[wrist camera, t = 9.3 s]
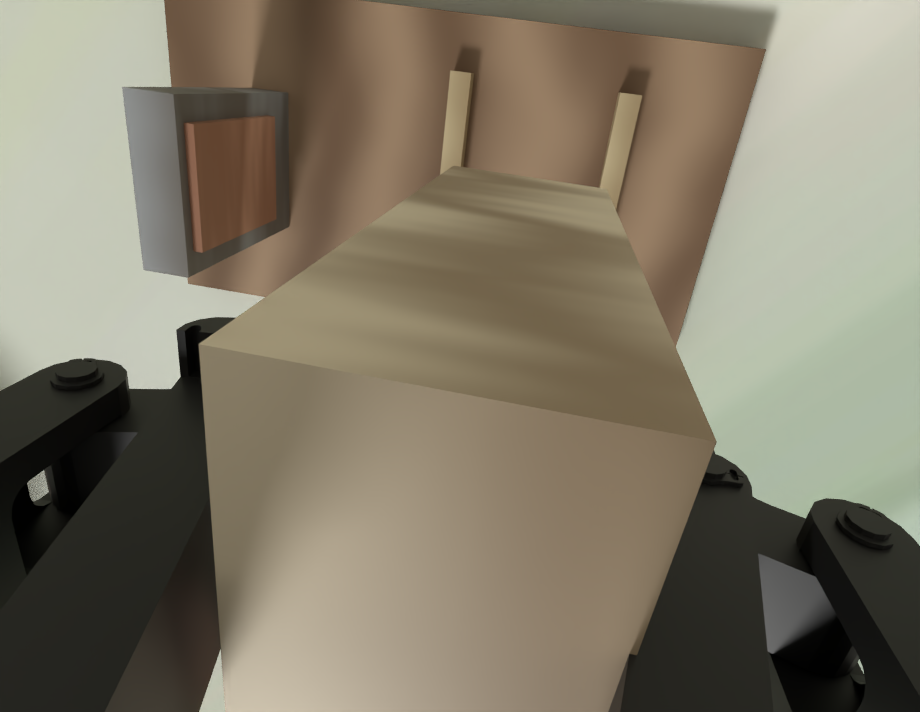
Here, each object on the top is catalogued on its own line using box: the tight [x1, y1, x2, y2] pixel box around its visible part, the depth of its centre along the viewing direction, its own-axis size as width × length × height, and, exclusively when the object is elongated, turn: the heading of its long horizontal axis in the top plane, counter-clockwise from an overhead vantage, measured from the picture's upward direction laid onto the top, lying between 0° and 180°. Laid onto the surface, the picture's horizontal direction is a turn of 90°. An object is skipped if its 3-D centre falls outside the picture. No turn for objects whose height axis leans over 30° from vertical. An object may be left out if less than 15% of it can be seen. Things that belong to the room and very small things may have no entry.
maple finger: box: [199, 166, 716, 712], centre depth 11 cm, size 4×7×12 cm, turn 173°
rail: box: [122, 0, 766, 347], centre depth 27 cm, size 29×16×12 cm, turn 83°
